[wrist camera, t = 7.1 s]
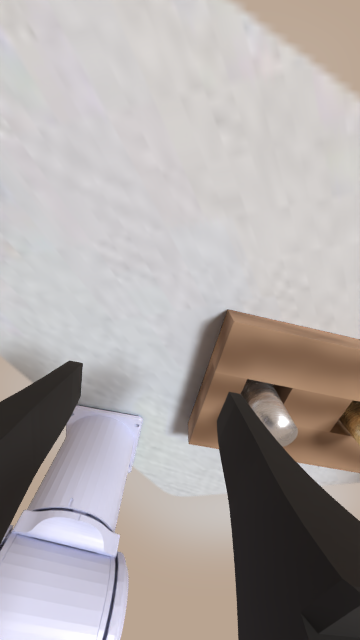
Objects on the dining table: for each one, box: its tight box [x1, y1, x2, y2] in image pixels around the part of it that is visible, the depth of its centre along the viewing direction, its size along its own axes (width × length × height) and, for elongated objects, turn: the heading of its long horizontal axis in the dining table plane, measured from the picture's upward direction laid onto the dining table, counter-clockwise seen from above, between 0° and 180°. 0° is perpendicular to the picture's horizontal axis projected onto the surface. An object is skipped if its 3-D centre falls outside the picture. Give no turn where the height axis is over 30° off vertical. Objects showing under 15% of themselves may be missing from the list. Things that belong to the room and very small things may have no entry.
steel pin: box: [241, 379, 298, 447], centre depth 19 cm, size 3×3×6 cm
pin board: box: [188, 310, 360, 473], centre depth 21 cm, size 14×20×2 cm
